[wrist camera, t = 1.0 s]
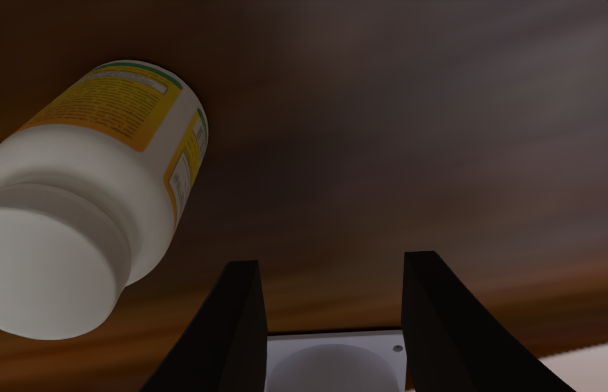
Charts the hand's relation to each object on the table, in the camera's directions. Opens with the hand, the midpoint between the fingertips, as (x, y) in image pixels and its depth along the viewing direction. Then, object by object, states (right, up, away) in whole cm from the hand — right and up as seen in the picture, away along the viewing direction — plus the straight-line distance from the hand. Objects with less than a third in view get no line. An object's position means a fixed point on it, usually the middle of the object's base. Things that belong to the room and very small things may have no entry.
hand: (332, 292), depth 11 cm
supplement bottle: (-7, +5, +9) cm, 13 cm away
